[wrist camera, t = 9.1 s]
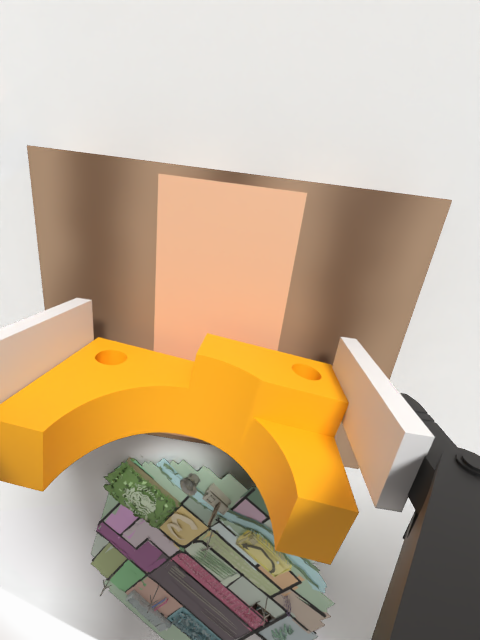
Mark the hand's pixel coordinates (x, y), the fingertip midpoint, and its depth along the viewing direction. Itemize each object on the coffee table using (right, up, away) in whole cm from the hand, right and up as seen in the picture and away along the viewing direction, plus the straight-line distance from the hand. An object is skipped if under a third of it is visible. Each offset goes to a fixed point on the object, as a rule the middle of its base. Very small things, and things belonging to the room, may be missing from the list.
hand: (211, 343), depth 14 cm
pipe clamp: (0, -2, +1) cm, 2 cm away
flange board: (0, +2, +5) cm, 5 cm away
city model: (-3, -20, +13) cm, 24 cm away
